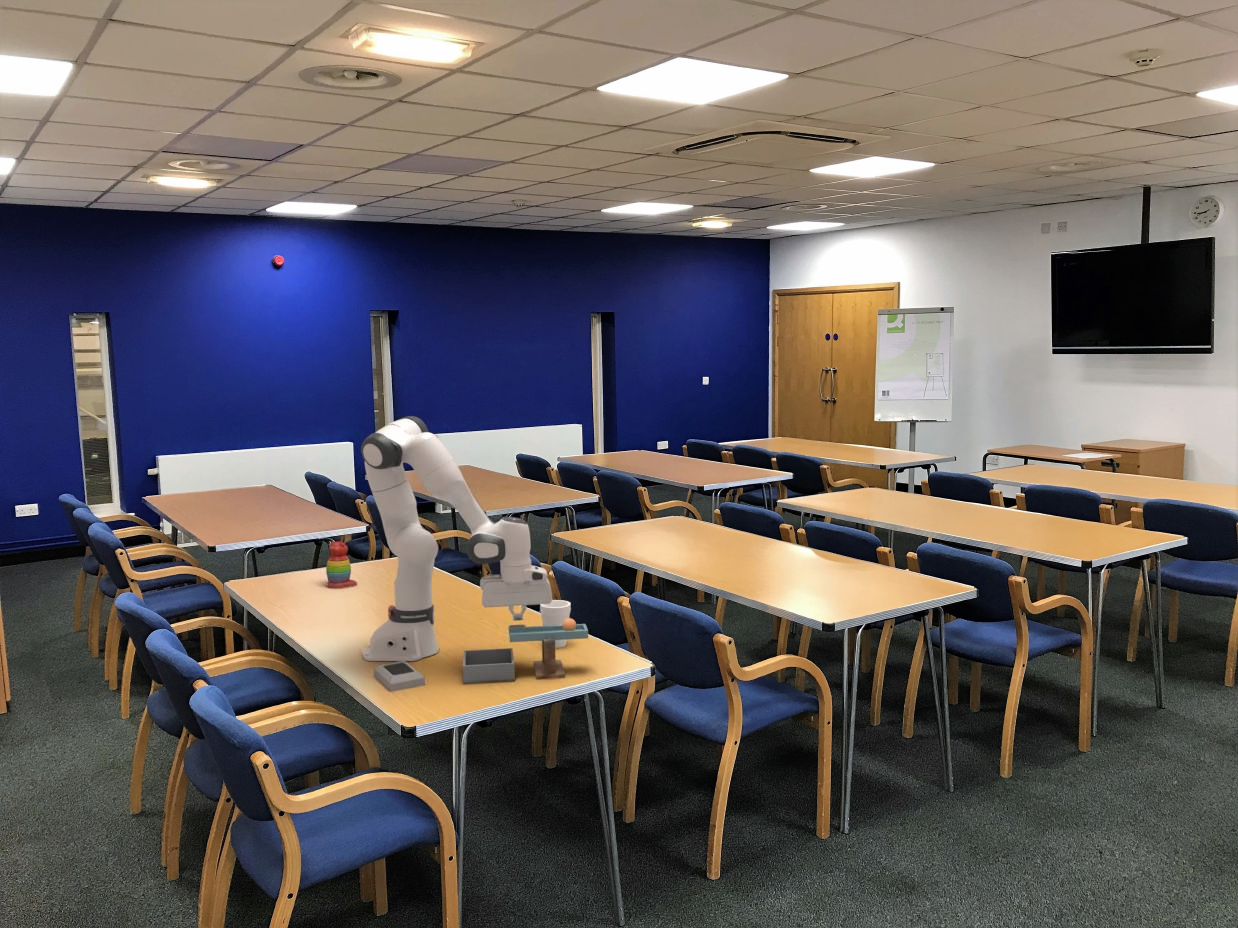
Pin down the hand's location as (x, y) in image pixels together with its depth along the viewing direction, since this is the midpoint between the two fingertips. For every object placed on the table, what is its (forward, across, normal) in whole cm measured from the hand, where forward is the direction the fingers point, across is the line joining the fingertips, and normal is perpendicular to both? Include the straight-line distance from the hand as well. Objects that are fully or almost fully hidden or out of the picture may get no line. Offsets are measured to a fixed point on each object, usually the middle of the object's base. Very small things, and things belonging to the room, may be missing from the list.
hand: (518, 619), depth 269 cm
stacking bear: (+13, -67, +107) cm, 127 cm away
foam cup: (+14, +12, +18) cm, 25 cm away
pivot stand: (+14, +8, -6) cm, 17 cm away
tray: (+13, -9, -6) cm, 17 cm away
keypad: (+14, -34, -8) cm, 37 cm away
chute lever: (+4, +8, -3) cm, 10 cm away
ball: (+1, +14, -6) cm, 16 cm away
